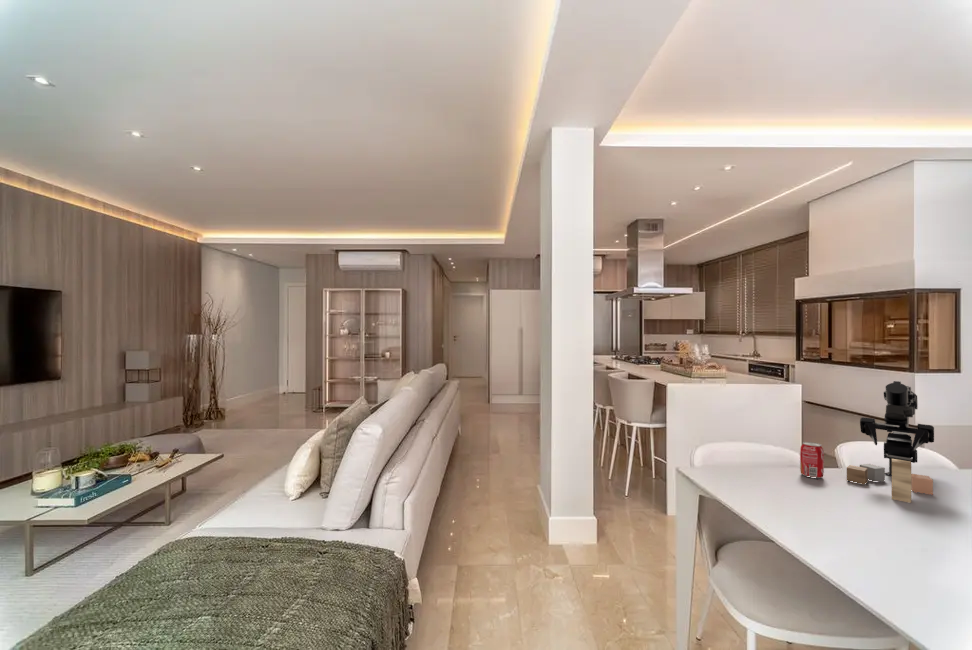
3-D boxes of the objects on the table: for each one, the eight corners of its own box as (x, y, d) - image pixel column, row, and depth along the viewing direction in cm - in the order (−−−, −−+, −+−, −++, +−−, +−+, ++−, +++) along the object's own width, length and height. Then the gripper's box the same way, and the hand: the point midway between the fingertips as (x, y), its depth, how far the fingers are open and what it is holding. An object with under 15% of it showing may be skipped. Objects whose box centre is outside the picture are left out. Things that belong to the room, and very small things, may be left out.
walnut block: (849, 478, 163) (849, 465, 163) (867, 482, 159) (867, 468, 159) (846, 481, 159) (846, 467, 159) (864, 485, 156) (864, 471, 156)
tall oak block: (891, 495, 146) (891, 458, 146) (910, 499, 143) (910, 461, 143) (891, 499, 142) (891, 461, 143) (911, 502, 139) (911, 464, 140)
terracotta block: (908, 487, 154) (908, 473, 154) (928, 490, 151) (928, 476, 151) (912, 491, 150) (912, 477, 150) (932, 495, 147) (932, 480, 147)
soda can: (815, 474, 167) (816, 441, 168) (828, 480, 160) (828, 446, 161) (795, 473, 168) (796, 441, 168) (807, 479, 161) (807, 445, 161)
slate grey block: (869, 477, 165) (869, 463, 165) (884, 481, 160) (884, 467, 160) (859, 478, 164) (859, 464, 164) (874, 482, 159) (874, 468, 159)
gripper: (861, 394, 162) (856, 425, 153) (934, 401, 148) (933, 434, 140) (863, 417, 166) (858, 447, 157) (934, 425, 153) (933, 459, 144)
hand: (894, 447), depth 150 cm, fingers open, 9 cm apart
